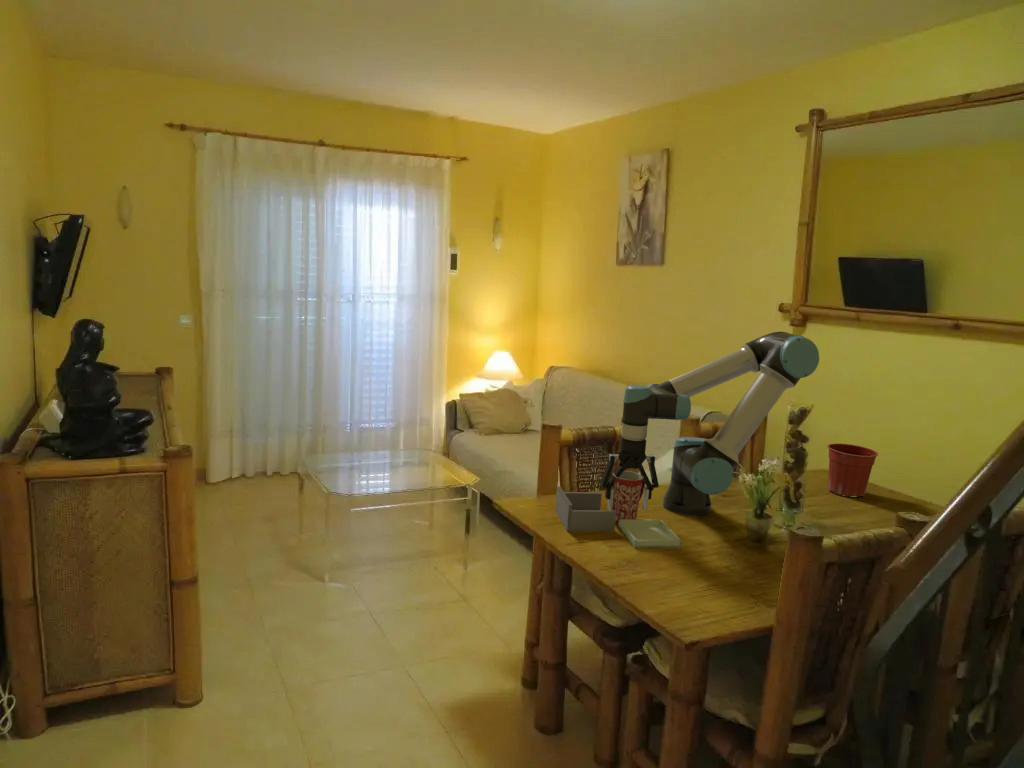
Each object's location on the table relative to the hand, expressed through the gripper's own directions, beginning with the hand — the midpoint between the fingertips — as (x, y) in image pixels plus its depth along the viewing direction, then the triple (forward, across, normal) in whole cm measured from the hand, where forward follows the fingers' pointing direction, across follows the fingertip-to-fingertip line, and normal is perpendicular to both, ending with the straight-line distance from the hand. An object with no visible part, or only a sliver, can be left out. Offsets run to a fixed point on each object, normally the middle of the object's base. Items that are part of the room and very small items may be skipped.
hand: (627, 509), depth 219 cm
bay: (+4, +13, 0) cm, 14 cm away
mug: (+3, 0, 0) cm, 3 cm away
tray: (+4, -3, +12) cm, 13 cm away
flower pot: (+4, -91, -29) cm, 96 cm away
